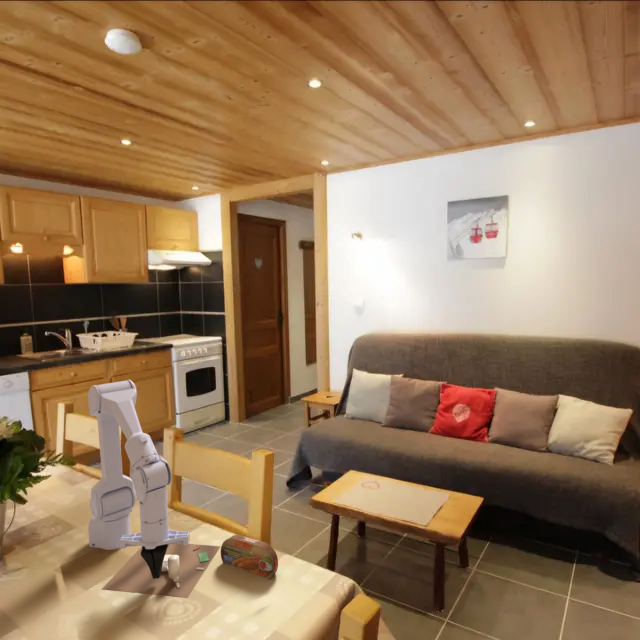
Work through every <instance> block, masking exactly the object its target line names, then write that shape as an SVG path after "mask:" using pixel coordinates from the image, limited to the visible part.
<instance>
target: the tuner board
mask: <svg viewBox="0 0 640 640" xmlns="http://www.w3.org/2000/svg"><path fill="white" fill-rule="evenodd" d="M221 546H222V545H210V544H209V545H208V544H197V543H196V544H193V543H189V544H188V545H183V543H182V544H169V545H168V548H167V550H166V553H165V555H178V556H179V566H180V575H179V576H178V577H179V580H178V581H175V582H174V580H173V579H172V578H169V573H168V571H164V572H161V575H160V577H159V578H156V579H153V577H152V574H151V571H150V569H149V566H148V564H147V563H146V561H145V560H144V559H143V557H142V556H141V550H142V546H141V547H140V548H138V550H137V551H136V552H135V553H134V554H133V555H132V556H131V557H130V559H128V561H126V562H125V564H124V565H123V566H122V567H121V568H120V569H119V570H118V571H117V572H116V573H115V574H114V575H113V576H112V577H111V578H110V580H108V582H107V583H105V584H104V586H103V587H102V588H101V590H104V591H114V592H127V593H136V594H145V595H146V594H147V595H153V596H154V595H155V596H164V597H165V596H166V597H174V598H175V597H176V598H186V599H187V598H189V596H190V595H191V593H192V592H193V590H194V588H195V587H196V586H197V584H198V583H199V581H200V579H201V578H202V576H203V574H204V573H205V572H206V570H207V568H208V567H209V565H210V564H211V562H212V561H213V559H214V558H215V556H216V555H217V553H218V552H219V551H220V550H221Z"/></svg>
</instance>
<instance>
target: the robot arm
mask: <svg viewBox="0 0 640 640" xmlns="http://www.w3.org/2000/svg"><path fill="white" fill-rule="evenodd" d="M137 391H138V390H137V386H136V384H135V383H134V382H133V381H132V380H131V379H126V380H121V381H116V382H115V381H114V382H110V383H109V382H108V383H102V384H93V385H91V386H90V388H89V389H88V392H87V399H88V400H87V402H88V411H89V415H90V417H96V420H97V428H98V443H99V444H98V445H99V455H100V456H99V457H100V467H101V478H100V479H99V480H98V481H97V482H96V483H95V484H94V485H93V486H92V487H91V490H90V500H89V505H90V512H91V514H92V516H91V518H90V519H89V522H88V526H87V527H88V529H87V530H88V531H87V532H88V544H89V548H99V549H103V550H107V551H111V550H118V549H125V548H127V547H140V546H141V547H142V550H141V556H142V557H143V559H144V560H145V561H146V563H147V564H148V566H149V569H150V571H151V574H152V577H153V579H156V578H159V577H160V575H161V572H162V564H163V560H164V556H165V553H166V550H167V548H168V545H169V544H182V543H183V545H188V544H190V541H191V540H190V539H191V537H190V535H191V533H190V531H179V530H173V529H169V528H170V527H169V510H168V488H167V486H169V485H170V484H171V482H172V471H171V468H170V465H169V463H168V461H167V460H166V459H165V458H164V457H163V456H162V455H161V454H158V452H157V449H156V447H155V444H154V442H153V440H152V437H151V435H149V434H148V433H146V432H145V433H144V432H143V429H142V426H141V423H140V420H139V417H138V414H137V411H136V404H137V403H136V402H137V397H138V392H137ZM120 429H121V431H122V433H123V434H124V437H125V438H126V441H125V444H124V449H125V452H126V455H127V457H128V459H129V461H130V464H131V467H132V468H133V479H132V478H130V477H129V476H127V475H125V474H123V460H122V448H121V434H120ZM137 500H138V501H139V517H140V518H139V519H140V532H136V533H131V517H130V513H132V511H133V508H134V507H135V505H136V503H137Z"/></svg>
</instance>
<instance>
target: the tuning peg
mask: <svg viewBox="0 0 640 640" xmlns="http://www.w3.org/2000/svg"><path fill="white" fill-rule="evenodd" d="M164 571H168V573H169V578H172V579H173V580H174V582H175V581H178V580H179V577H178V576H179V575H180V566H179V556H178V555H165V556H164V560H163V564H162V572H164Z"/></svg>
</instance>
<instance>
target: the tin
mask: <svg viewBox="0 0 640 640" xmlns="http://www.w3.org/2000/svg"><path fill="white" fill-rule="evenodd" d="M220 546H221V547H220V558H221V561H222V563H223V565H229V566H231V567H235V568H238V569H241V570H243V571H247V572H250V573H252V574H256V575H258V576H261V577H265V578H267V579H268V580H269V581H270V580H271V579H272V578H273V576H274V575H276V573H277V572H278V569H279V558H278V554H277V551H276V550H275V549H274V548H273V546H272V545H270V544H269V543H268V542H266V541H262V540H259V539H256V538H251V537H248V536H245V535H240V534H234V535H232V536H230V537H229V538H226V539H225V540H223V542H222V544H221V545H220Z"/></svg>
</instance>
